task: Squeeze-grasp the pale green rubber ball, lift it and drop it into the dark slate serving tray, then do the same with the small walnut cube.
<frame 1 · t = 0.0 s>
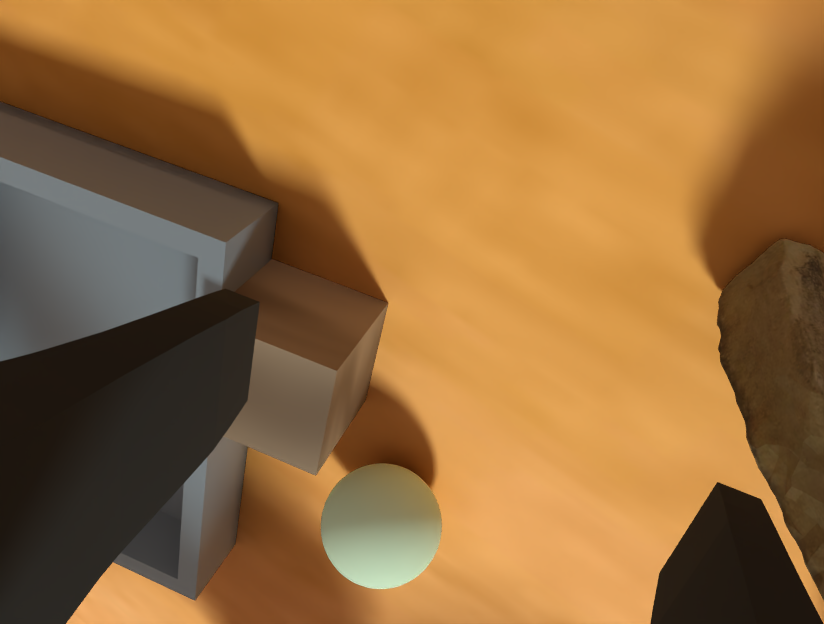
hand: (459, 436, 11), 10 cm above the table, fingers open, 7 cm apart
serving tray: (110, 341, 28), on the table
walnut cube: (321, 330, 25), on the table
green ball: (401, 484, 27), on the table
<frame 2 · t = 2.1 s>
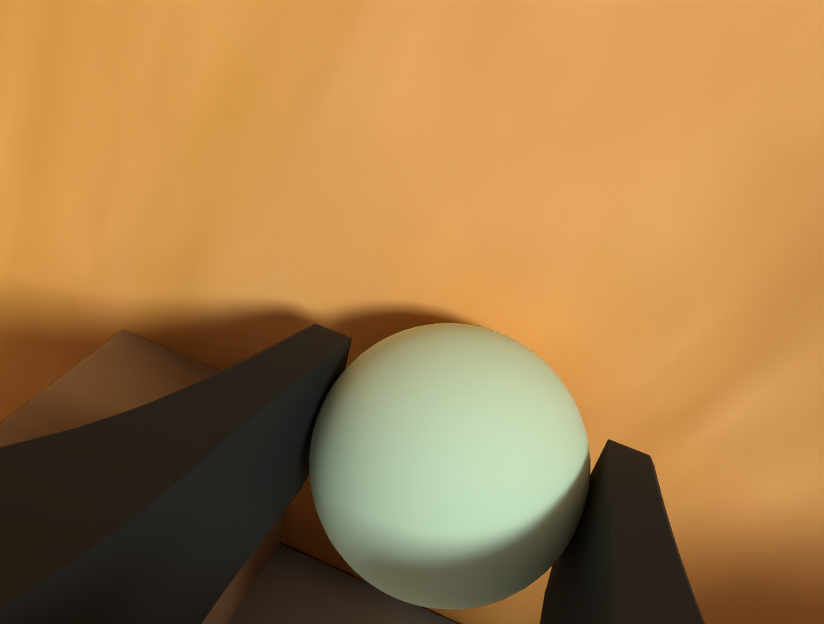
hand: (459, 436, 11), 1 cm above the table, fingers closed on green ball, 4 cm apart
walnut cube: (207, 438, 16), on the table
green ball: (482, 384, 12), on the table, touching gripper
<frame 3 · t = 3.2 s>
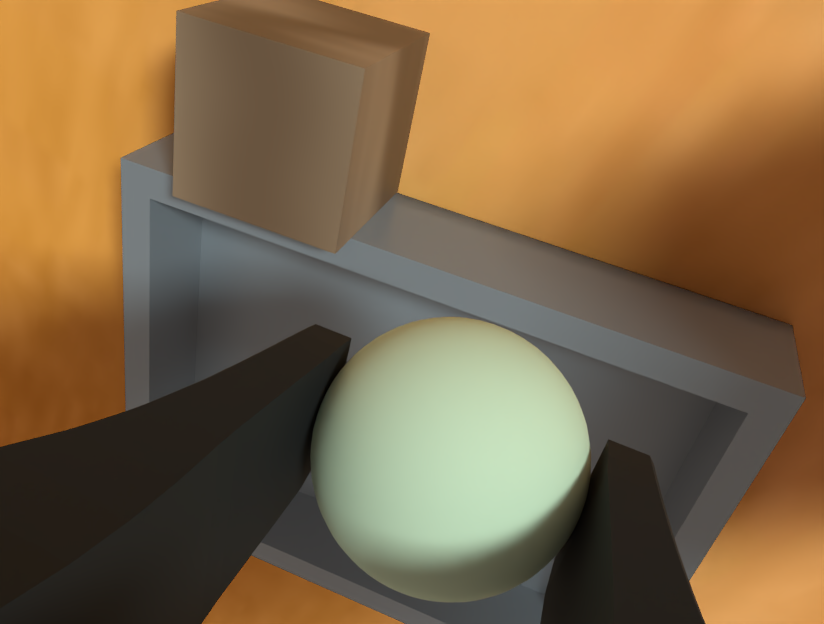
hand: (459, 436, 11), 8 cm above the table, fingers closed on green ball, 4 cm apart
serving tray: (422, 397, 22), on the table
walnut cube: (339, 92, 19), on the table
green ball: (480, 378, 13), point 7 cm above the table, touching gripper
when the fingers open (4 cm above the table, at t = 4.7 s): green ball drops 2 cm, resting on serving tray.
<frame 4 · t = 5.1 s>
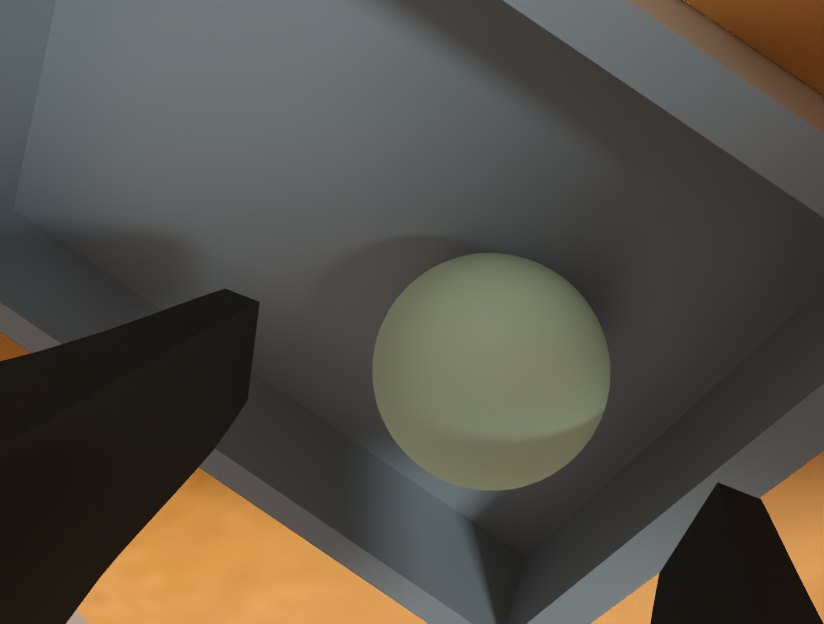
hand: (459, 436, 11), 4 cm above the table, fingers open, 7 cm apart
serving tray: (374, 203, 15), on the table
green ball: (510, 313, 14), point 1 cm above the table, touching serving tray
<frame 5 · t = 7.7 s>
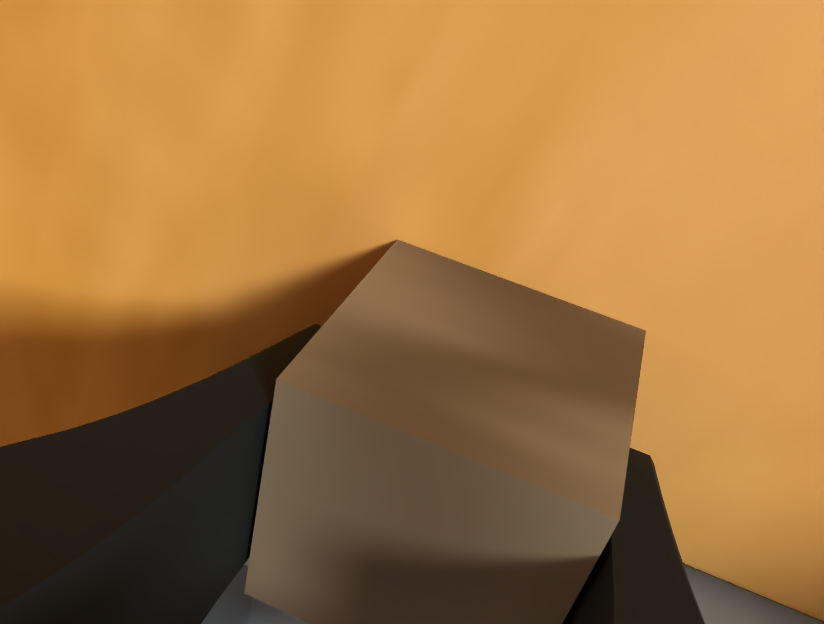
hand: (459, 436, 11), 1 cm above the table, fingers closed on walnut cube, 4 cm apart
walnut cube: (483, 383, 13), on the table, touching gripper
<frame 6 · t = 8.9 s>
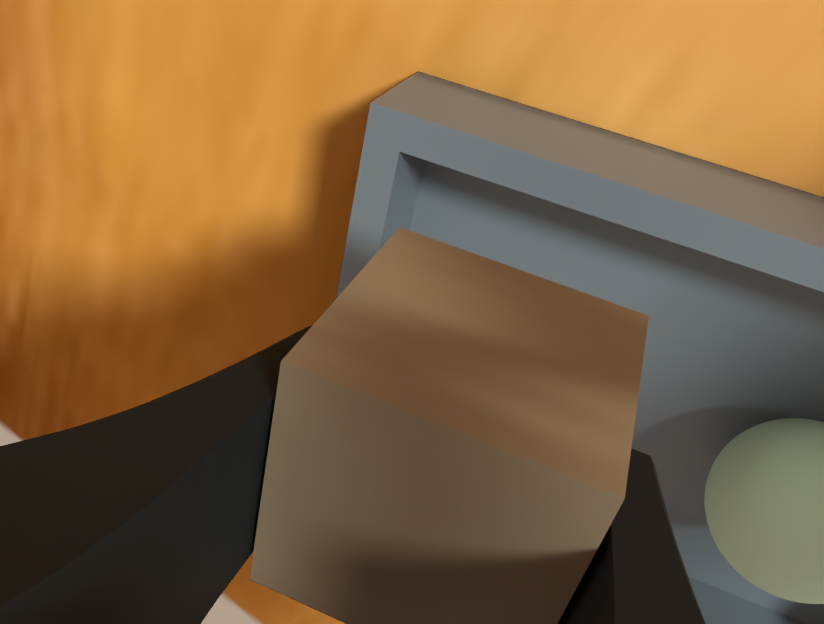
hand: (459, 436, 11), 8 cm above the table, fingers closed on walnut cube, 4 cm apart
serving tray: (655, 388, 19), on the table
walnut cube: (486, 370, 13), point 7 cm above the table, touching gripper
green ball: (791, 451, 18), point 1 cm above the table, touching serving tray
when the fingers open (4 cm above the table, at t = 10.2 s): walnut cube drops 2 cm, resting on serving tray.
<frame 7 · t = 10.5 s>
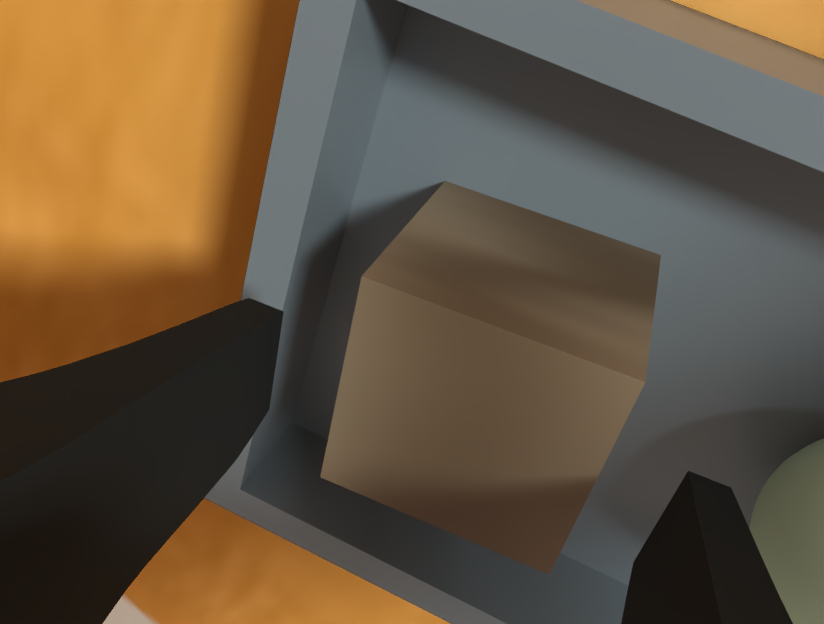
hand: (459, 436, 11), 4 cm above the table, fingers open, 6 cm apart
serving tray: (686, 376, 15), on the table
walnut cube: (518, 309, 14), point 1 cm above the table, touching serving tray
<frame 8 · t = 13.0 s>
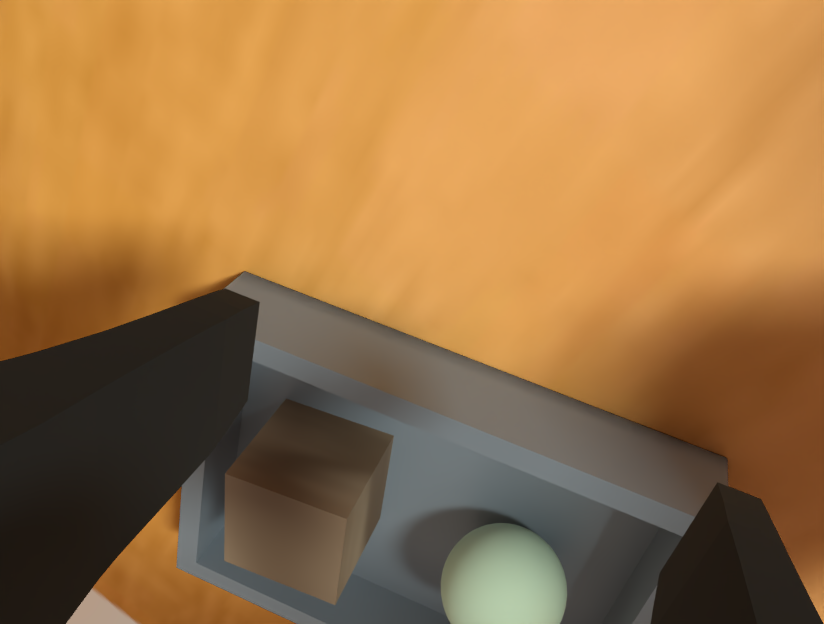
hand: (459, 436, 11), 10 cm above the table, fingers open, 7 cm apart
serving tray: (429, 490, 27), on the table
walnut cube: (334, 459, 27), point 1 cm above the table, touching serving tray
green ball: (517, 541, 26), point 1 cm above the table, touching serving tray
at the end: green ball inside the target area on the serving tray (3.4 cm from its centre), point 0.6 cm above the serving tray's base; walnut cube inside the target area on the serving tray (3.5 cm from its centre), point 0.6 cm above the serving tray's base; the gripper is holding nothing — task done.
